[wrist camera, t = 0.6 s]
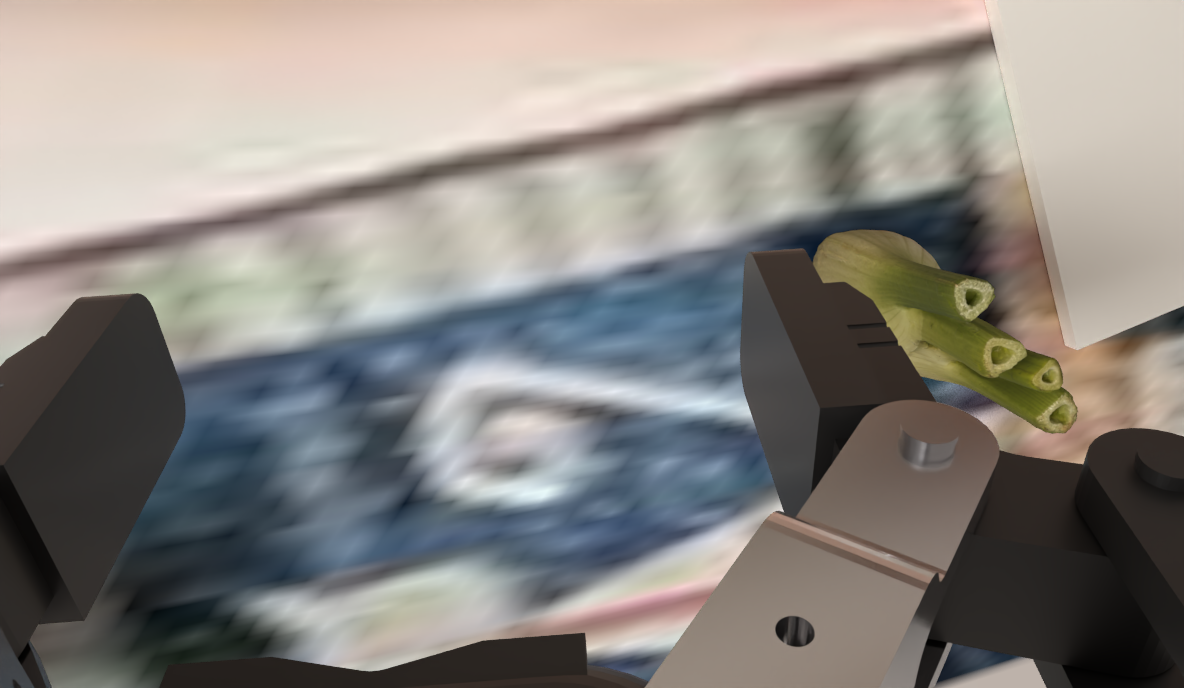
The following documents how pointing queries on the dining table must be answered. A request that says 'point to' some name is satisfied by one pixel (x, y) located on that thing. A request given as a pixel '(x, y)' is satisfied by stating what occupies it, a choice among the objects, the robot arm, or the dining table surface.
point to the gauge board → (1100, 152)
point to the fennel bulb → (947, 324)
